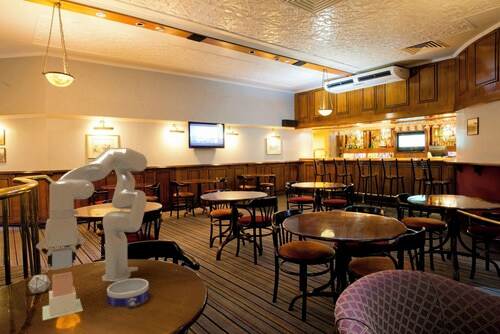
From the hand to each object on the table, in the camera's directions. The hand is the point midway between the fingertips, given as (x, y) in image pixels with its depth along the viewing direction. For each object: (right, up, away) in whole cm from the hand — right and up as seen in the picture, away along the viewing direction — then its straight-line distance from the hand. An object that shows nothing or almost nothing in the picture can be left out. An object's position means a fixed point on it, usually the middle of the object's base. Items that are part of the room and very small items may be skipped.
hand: (61, 263), depth 111 cm
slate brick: (0, -1, 0) cm, 1 cm away
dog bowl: (+20, -18, +10) cm, 29 cm away
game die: (-19, -18, +16) cm, 31 cm away
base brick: (0, -17, 0) cm, 17 cm away
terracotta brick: (0, -11, 0) cm, 11 cm away
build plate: (0, -18, 0) cm, 18 cm away
